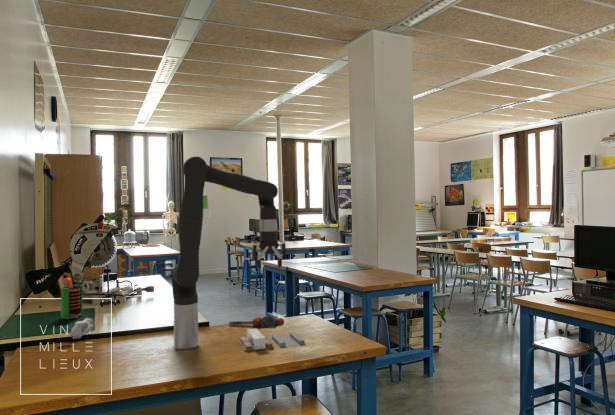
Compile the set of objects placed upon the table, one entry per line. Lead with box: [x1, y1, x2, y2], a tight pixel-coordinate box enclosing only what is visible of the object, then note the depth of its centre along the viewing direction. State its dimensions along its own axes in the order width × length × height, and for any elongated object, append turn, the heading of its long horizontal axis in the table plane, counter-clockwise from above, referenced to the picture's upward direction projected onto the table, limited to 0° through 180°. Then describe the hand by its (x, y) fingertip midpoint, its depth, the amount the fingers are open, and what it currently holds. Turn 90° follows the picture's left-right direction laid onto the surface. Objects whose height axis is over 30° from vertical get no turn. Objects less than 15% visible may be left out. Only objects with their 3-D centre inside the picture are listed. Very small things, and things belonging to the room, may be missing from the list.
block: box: [246, 327, 266, 351], centre depth 174 cm, size 14×4×4 cm, turn 19°
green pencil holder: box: [60, 277, 84, 318], centre depth 227 cm, size 10×9×20 cm
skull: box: [69, 317, 94, 340], centre depth 194 cm, size 8×9×12 cm
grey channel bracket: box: [270, 331, 306, 348], centre depth 179 cm, size 12×11×3 cm
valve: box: [228, 315, 285, 329], centre depth 210 cm, size 6×26×15 cm
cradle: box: [238, 334, 274, 353], centre depth 175 cm, size 13×11×3 cm
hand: (269, 268), depth 191 cm, fingers open, 8 cm apart
